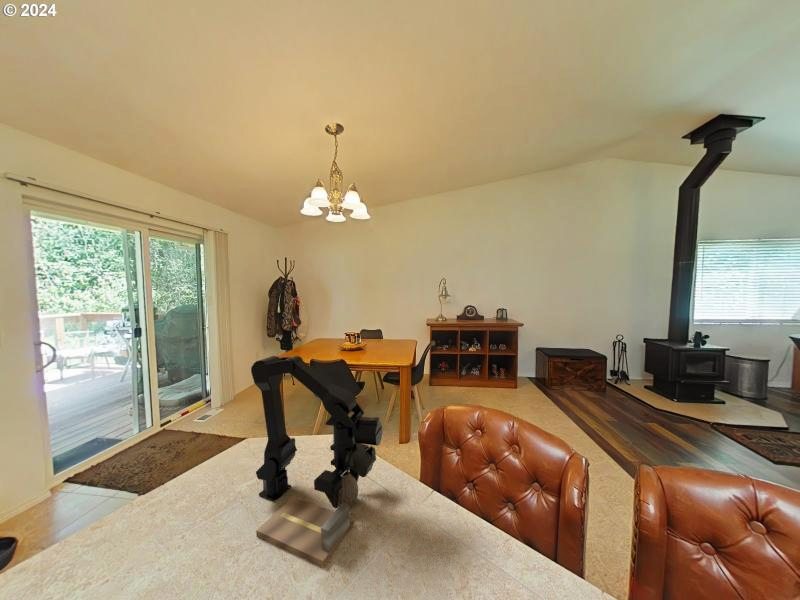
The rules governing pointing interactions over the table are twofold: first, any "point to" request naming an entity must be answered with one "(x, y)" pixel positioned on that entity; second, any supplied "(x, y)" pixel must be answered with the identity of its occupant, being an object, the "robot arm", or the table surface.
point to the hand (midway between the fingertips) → (345, 495)
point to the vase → (348, 490)
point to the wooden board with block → (307, 529)
